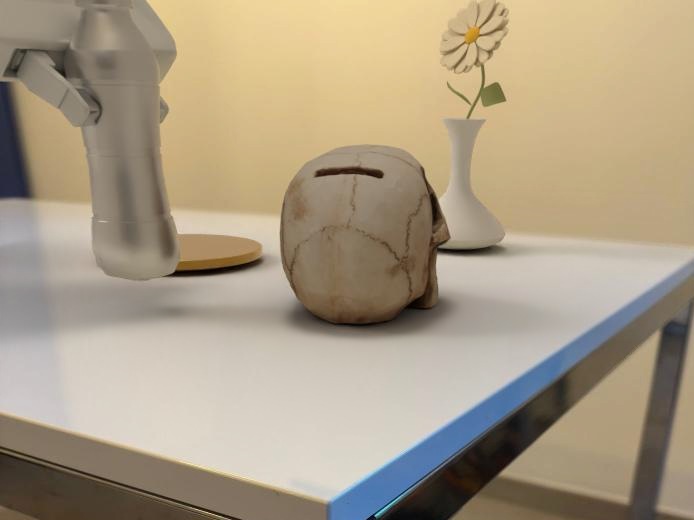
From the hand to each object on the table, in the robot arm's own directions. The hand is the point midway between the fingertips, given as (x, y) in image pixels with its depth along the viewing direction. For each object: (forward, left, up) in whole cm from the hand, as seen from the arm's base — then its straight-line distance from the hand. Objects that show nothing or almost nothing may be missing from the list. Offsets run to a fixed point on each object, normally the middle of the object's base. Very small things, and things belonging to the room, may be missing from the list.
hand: (126, 118), depth 56 cm
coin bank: (+16, +7, -14) cm, 23 cm away
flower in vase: (+21, +38, -14) cm, 46 cm away
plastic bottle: (-1, 0, -12) cm, 12 cm away
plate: (-7, +22, -14) cm, 27 cm away
